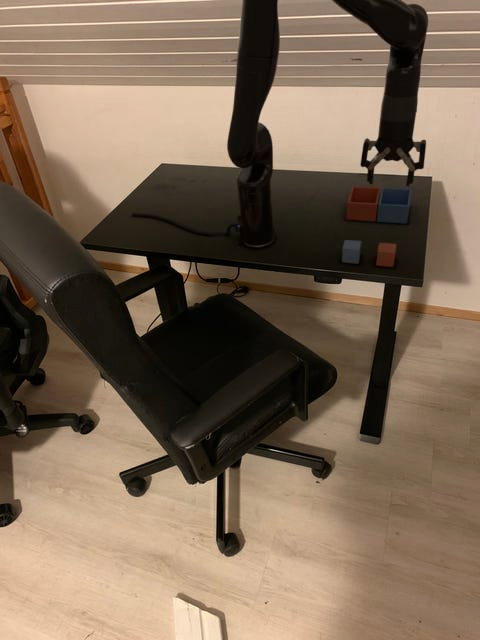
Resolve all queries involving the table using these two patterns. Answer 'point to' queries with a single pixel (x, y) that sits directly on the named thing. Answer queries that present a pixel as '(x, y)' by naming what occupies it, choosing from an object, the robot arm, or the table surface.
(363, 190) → the terracotta bin
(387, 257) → the terracotta block
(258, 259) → the table surface
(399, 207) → the blue bin
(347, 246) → the blue block
